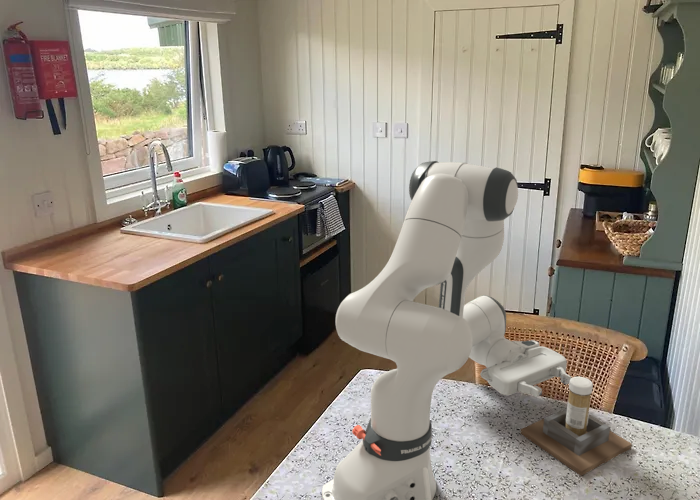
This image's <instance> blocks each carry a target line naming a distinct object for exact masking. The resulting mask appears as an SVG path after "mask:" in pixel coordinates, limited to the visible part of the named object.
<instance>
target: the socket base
mask: <svg viewBox="0 0 700 500" xmlns="http://www.w3.org/2000/svg"><path fill="white" fill-rule="evenodd" d="M566 414H567V407H566V408H564V409H561V410H560V411H558V412H555V413H552V414H551V415H548V416H547V417H544V418H542V419H540V420H538V421H535V422H533V423H531V424H529V425H527V426H524V427H522V428H520V430H519V431H520V432H519V434H520V435H521V436H523V437H525V439H528V440H529V441H530V442H531V443H533V444H534V445H536V446H537V447H539V448H540V449H542V450H543V451H545V452H546V454H547V453H548V454H549V455H550V456H552V457H553V458H554V459H556V460H558V462H560V463H561V464H563V465H564V466H566V467H568V469H570V470H572V471H573V472H575V474H577V475H579V476H580V477H582V476H584V475H585V474H588V473H589V472H591V471H593V470H595V469H597V468H599V467H600V466H602V465H604V464H605V463H607V462H610V461H611V460H613V459H614V458H617V457H618V456H621V455H622V454H624V453H626V452H627V451H629V450H632V446H633V444H632V443H631V442H630V441H628V440H627V439H624V438H623V437H622V436H620V435H618V434H617V433H614V432H613V431H612V430H611V426H610V425H608V424H607V423H606V422H605V423H604V422H603V421H601V420H599V419H598V418H596V417H594V416H593V415H591V414H590V413H589V417H588V425H587V430H586V434H584V435H582V436H578V435H576V434H575V433H573V432H572V431H570V430H569V429H567V428H565V425H566Z"/></svg>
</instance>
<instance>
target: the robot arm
mask: <svg viewBox="0 0 700 500" xmlns="http://www.w3.org/2000/svg"><path fill="white" fill-rule="evenodd" d="M408 186H409V187H408V193H409V198H410V200H411V202H410V204H409V206H408V209H407V212H406V215H405V216H404V220H403V223H402V226H401V228H400V232H399V234H398V237H397V240H396V243H395V244H394V245H395V246H394V247H393V250H392V253H391V255H390V258H389V260H388V261H387V263H386V264H385V266H384V267H383V268H382V270H381V271H380V272H379V273H378V275H377V276H375V278H374V279H373V280H371V281H370V282H369V283H368V284H366V285H365V286H363V287H362V288H360V289H358V290H356V291H354V292H351V293H349V294H348V295H347V296H346V297H345V298H344V299H343V300H342V301H341V302H340V304H339V306H338V308H337V310H336V314H335V329H336V333H337V335H338V338H339V339H340V340H341V341H343V342H344V343H347V344H348V345H349V346H351V347H353V348H355V349H357V350H359V351H361V352H364V353H367V354H371V355H374V356H377V357H380V358H384V359H388V360H391V361H393V362H394V363H395V364H396V368H393V369H390V370H389V371H385V372H384V373H382V374H380V375H379V376H377V378H376V379H375V380H374V382H373V384H372V385H371V388H370V418H369V421H368V423H367V426H366V428H365V429H364V428H363V427H362V426H361V425H360V424H357V425H355V426H354V427H353V428H352V430H351V431H352V434H353V436H355V437H356V438H357V439H358V440H360V442H359V443H358V444H357V445H355V447H354V448H353V449H352V450H351V451H350V452H349V453H348V454H347V455H346V456H345V457H344V458H343V459H342V460H341V461H340V462H339V463H337V465H336V468H335V471H334V474H333V478H332V479H331V480H329V481H328V482H327V483H324V484H323V485H322V488H321V491H322V492H321V499H322V500H434V497H435V495H436V493H437V481H436V479H435V475H434V471H433V467H432V460H431V459H432V458H431V448H430V447H431V444H432V440H433V439H432V438H433V432H432V431H433V428H432V427H433V426H432V425H433V424H432V421H431V420H430V419H431V404H432V396H433V393H434V390H435V388H436V386H437V384H438V383H439V382H440V380H441V379H442V378H444V377H445V376H447V375H450V374H452V373H455V372H457V371H458V370H459V369H461V368H462V367H463V366H464V365H465V364H466V362H467V361H468V360H469V359H471V360H472V361H474V362H475V363H477V364H479V365H481V366H482V365H483V366H485V368H484V369H482V370H481V372H480V377H481V378H482V379H484V380H485V381H487V383H488V384H489V385H490V386H491V387H492V388H493V389H494V390H495V391H497V393H500V395H502V396H507V397H508V396H511V395H513V394H516V393H518V392H519V393H522V394H525V395H532V396H533V397H535V398H539V397H540V396H542V395H543V389H542V388H541V387H539V386H538V385H537V384H541V383H543V382H545V381H548V380H550V379H552V378H555V377H556V378H560V383H562V384H564V385H565V386H566V385H569V382H570V379H571V378H572V376H571V375H569V374H567V372H566V371H567V363H568V362H567V361H568V360H567V359H566V357H565V356H564V355H562V354H560V353H559V352H557V351H555V350H553V349H551V348H548V347H546V346H541V345H540V342H539V341H536V340H523V341H521V340H520V341H519V340H509V339H508V338H506V337H505V334H506V329H507V314H506V309H505V308H504V305H502V303H500V302H499V301H498V300H497V299H495V298H493V297H492V296H489V295H486V294H483V295H479V296H478V297H476V298H475V299H472V300H471V301H469V302H467V303H466V304H465V301H466V300H465V299H466V293H467V290H468V287H469V285H470V284H471V283H472V281H473V280H474V279H475V278H476V277H477V276H478V274H480V273H481V272H482V271H483V270H484V269H486V267H488V266H489V265H490V264H491V263H492V262H494V261H495V260H496V259H497V257H499V255H500V253H501V252H502V248H503V246H504V240H505V220H506V219H507V218H508V217H510V216H511V215H512V214H513V211H514V209H515V207H516V205H517V202H518V197H519V187H518V181H517V178H516V177H515V176H514V174H513V173H512V172H511V171H509V170H506V169H505V168H500V167H494V168H492V167H490V166H486V165H485V166H484V165H478V164H473V163H467V162H461V161H459V162H458V161H445V162H444V161H443V162H440V161H437V160H432V161H426V162H425V161H424V162H422V163H420V164H419V165H418V166H417V167H416V168H414V170H413V171H412V174H411V176H410V180H409V184H408ZM438 285H440V286H439V288H440V289H439V302H438V306H434V305H429V304H425V303H421V302H417V301H414V300H415V299H416V297H417V296H418V295H419V294H420V293H421V292H422V291H424V290H426V289H427V288H431V287H435V286H438Z"/></svg>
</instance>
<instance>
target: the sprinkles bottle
mask: <svg viewBox="0 0 700 500" xmlns="http://www.w3.org/2000/svg"><path fill="white" fill-rule="evenodd" d="M593 386H594V385H593V382H592V380H590V379H589V378H587V377H584V376H583V377H582V376H574V377H571V379H570V382H569V384H568V390H569V391H568V399H567V407H566V408H567V414H566V425H565V428H567V429H569V430H570V431H572V432H573V433H575V434H576V435H578V436H582V435H584V434H586V430H587V425H588V417H589V414H590V406H591V405H590V403H591V396H592V392H593Z"/></svg>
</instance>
